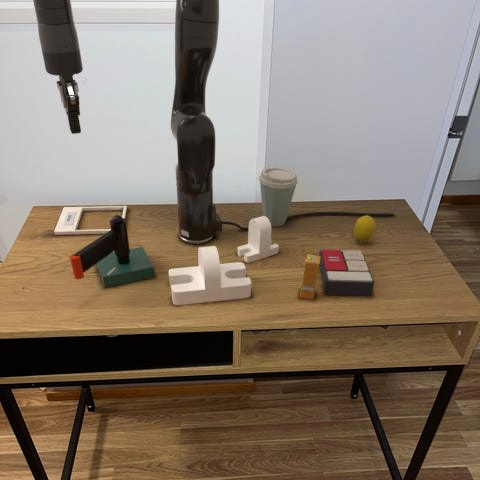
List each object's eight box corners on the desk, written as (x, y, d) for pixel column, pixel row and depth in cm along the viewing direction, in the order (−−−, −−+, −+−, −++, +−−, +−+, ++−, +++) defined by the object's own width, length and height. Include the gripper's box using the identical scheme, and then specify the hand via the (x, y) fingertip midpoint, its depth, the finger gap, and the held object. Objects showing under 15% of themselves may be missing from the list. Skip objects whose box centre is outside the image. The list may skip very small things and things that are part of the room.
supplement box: (314, 300, 114) (319, 263, 108) (299, 298, 115) (304, 261, 108) (315, 292, 117) (321, 255, 110) (301, 290, 117) (305, 253, 111)
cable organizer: (279, 252, 130) (282, 218, 124) (247, 263, 126) (248, 227, 119) (267, 243, 133) (270, 209, 127) (236, 253, 129) (237, 218, 123)
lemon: (349, 244, 134) (354, 217, 129) (354, 235, 138) (359, 209, 133) (370, 249, 133) (376, 222, 128) (374, 239, 137) (379, 213, 132)
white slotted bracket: (251, 297, 114) (253, 257, 108) (173, 305, 111) (170, 265, 104) (242, 274, 122) (244, 235, 115) (169, 281, 119) (165, 242, 112)
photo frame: (63, 206, 145) (126, 205, 146) (64, 210, 145) (126, 208, 147) (53, 231, 133) (121, 229, 135) (54, 234, 134) (122, 233, 136)
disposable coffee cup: (274, 209, 149) (278, 160, 140) (301, 222, 143) (307, 172, 134) (248, 220, 143) (251, 170, 134) (275, 234, 137) (279, 183, 128)
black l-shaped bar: (121, 247, 120) (115, 210, 114) (133, 251, 119) (128, 214, 113) (71, 283, 108) (61, 243, 102) (83, 288, 107) (75, 248, 101)
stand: (143, 256, 127) (141, 239, 124) (154, 277, 120) (152, 259, 117) (96, 266, 123) (93, 248, 120) (104, 287, 116) (101, 269, 113)
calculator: (363, 248, 125) (375, 280, 113) (360, 263, 128) (372, 295, 116) (319, 247, 125) (327, 278, 113) (317, 262, 128) (325, 294, 116)
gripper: (84, 52, 99) (98, 140, 110) (73, 40, 108) (87, 121, 119) (45, 54, 96) (63, 144, 107) (37, 42, 106) (54, 125, 117)
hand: (75, 132), depth 113 cm, fingers closed
